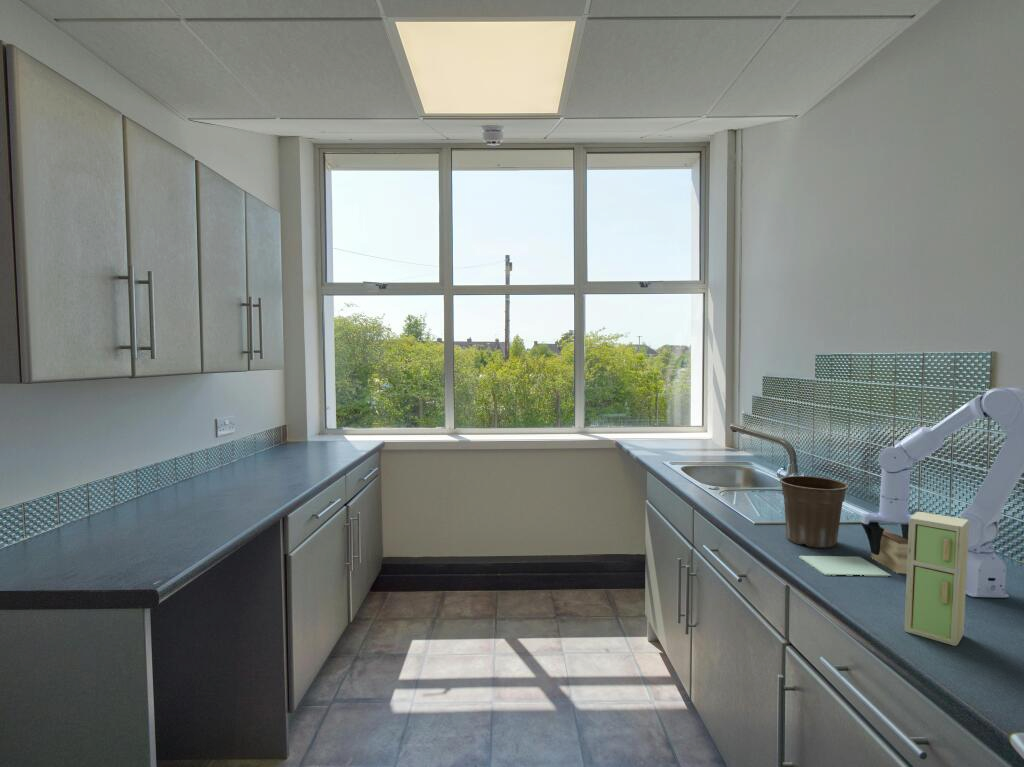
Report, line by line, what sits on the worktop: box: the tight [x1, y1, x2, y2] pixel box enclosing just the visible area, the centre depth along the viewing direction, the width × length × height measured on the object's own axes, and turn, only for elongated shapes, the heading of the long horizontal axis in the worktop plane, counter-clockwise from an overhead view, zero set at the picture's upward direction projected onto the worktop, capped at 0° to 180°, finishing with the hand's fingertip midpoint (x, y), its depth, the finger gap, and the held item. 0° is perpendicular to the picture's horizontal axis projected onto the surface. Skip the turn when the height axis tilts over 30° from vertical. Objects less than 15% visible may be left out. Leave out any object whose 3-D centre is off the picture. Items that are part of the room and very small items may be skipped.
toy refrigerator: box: [904, 511, 969, 647], centre depth 107 cm, size 8×7×21 cm
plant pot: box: [779, 475, 849, 549], centre depth 160 cm, size 16×16×16 cm
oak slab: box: [870, 528, 908, 575], centre depth 143 cm, size 10×3×8 cm, turn 1°
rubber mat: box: [798, 555, 892, 577], centre depth 142 cm, size 12×15×1 cm
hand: (890, 553), depth 143 cm, fingers open, 7 cm apart
